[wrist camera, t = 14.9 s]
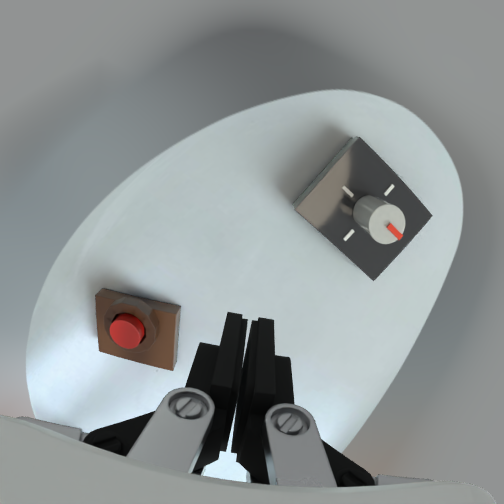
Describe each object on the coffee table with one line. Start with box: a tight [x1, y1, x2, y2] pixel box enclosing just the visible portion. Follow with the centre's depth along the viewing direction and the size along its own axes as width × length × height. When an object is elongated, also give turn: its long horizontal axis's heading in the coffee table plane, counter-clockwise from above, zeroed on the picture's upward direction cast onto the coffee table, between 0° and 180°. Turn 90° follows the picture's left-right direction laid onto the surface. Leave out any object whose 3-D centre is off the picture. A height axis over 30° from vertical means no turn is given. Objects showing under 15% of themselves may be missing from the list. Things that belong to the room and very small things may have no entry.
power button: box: [110, 313, 145, 349], centre depth 36 cm, size 4×4×2 cm
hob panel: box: [293, 137, 432, 281], centre depth 33 cm, size 12×10×3 cm
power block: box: [95, 289, 181, 371], centre depth 39 cm, size 11×10×4 cm
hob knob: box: [353, 195, 405, 244], centre depth 29 cm, size 4×4×6 cm
